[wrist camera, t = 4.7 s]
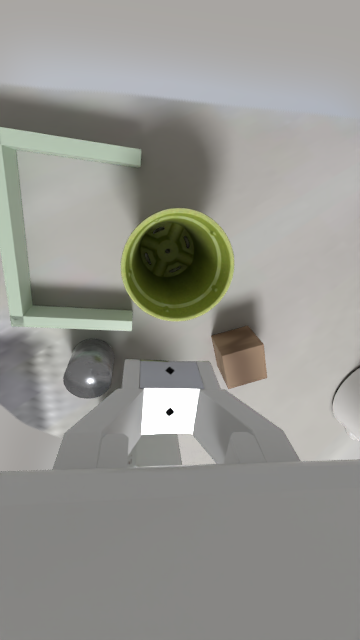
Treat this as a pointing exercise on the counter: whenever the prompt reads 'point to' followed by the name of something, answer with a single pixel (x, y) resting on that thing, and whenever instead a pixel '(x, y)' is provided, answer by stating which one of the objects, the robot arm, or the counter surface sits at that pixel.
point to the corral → (9, 234)
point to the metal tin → (89, 369)
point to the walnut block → (239, 356)
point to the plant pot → (177, 264)
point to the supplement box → (155, 451)
